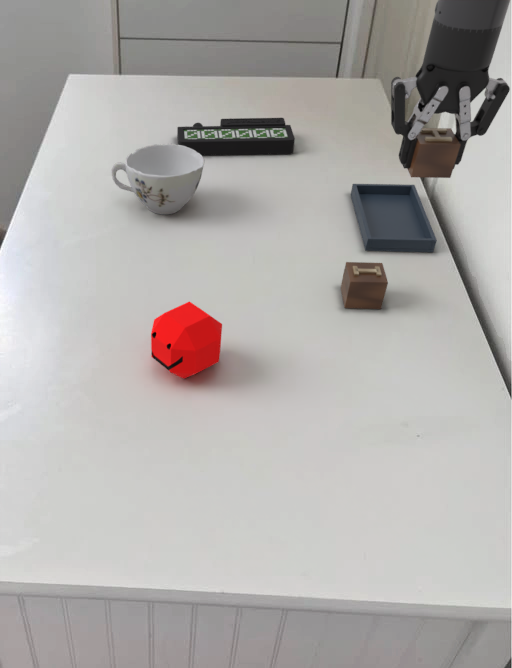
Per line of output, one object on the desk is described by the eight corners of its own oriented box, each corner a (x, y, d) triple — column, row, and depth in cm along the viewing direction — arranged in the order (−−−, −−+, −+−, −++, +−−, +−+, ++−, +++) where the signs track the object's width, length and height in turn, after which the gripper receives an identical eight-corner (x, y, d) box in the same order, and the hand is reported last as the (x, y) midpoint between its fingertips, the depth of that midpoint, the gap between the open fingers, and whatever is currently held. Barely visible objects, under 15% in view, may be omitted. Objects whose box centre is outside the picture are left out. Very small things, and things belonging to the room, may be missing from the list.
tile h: (441, 161, 95) (451, 125, 92) (450, 178, 92) (461, 142, 89) (403, 160, 95) (412, 125, 92) (411, 177, 92) (420, 141, 89)
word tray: (411, 196, 121) (414, 184, 119) (433, 252, 109) (437, 240, 107) (350, 195, 121) (352, 183, 120) (365, 251, 109) (367, 238, 108)
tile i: (375, 289, 102) (382, 260, 99) (381, 309, 99) (388, 280, 95) (340, 288, 102) (346, 259, 99) (344, 308, 99) (350, 279, 96)
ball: (141, 361, 92) (140, 311, 86) (190, 338, 95) (191, 288, 89) (181, 394, 87) (182, 343, 82) (230, 368, 90) (234, 317, 85)
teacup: (207, 192, 123) (209, 144, 117) (196, 228, 114) (198, 178, 109) (121, 185, 125) (119, 138, 119) (105, 220, 117) (101, 171, 111)
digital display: (288, 114, 137) (295, 137, 130) (286, 132, 139) (293, 155, 133) (177, 116, 137) (179, 139, 130) (176, 133, 139) (178, 157, 133)
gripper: (411, 26, 79) (376, 178, 91) (544, 27, 78) (491, 180, 91) (398, 6, 84) (367, 153, 96) (523, 6, 83) (475, 154, 96)
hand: (427, 165), depth 93 cm, fingers closed on tile h, 5 cm apart
